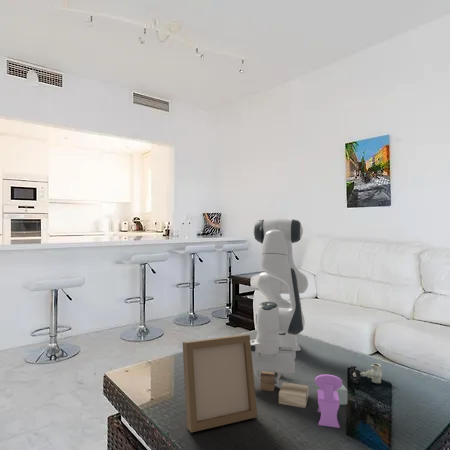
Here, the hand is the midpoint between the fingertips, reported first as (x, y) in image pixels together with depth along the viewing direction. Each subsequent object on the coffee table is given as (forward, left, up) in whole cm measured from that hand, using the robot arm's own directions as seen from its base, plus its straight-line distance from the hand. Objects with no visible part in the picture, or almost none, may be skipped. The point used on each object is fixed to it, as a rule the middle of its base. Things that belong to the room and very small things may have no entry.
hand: (267, 382), depth 130 cm
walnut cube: (0, 0, -2) cm, 2 cm away
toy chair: (+17, +21, -2) cm, 27 cm away
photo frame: (+24, -14, -2) cm, 28 cm away
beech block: (+7, +10, -2) cm, 12 cm away
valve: (-15, +38, -2) cm, 41 cm away
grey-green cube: (+4, +25, -2) cm, 25 cm away
